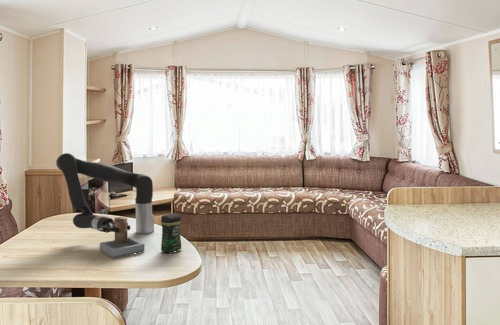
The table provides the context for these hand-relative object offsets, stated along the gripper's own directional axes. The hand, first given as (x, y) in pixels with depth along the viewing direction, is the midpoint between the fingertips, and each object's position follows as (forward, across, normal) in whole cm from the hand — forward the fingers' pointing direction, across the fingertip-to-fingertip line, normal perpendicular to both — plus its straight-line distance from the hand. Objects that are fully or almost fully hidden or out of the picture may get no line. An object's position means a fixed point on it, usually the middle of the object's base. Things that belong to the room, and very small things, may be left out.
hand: (124, 229), depth 204 cm
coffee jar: (+17, +15, +12) cm, 25 cm away
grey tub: (-2, 0, +12) cm, 12 cm away
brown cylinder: (-2, 0, +7) cm, 7 cm away
